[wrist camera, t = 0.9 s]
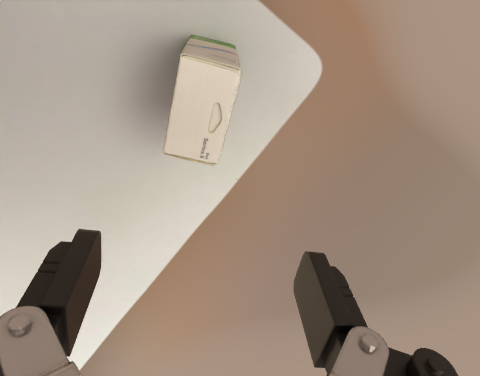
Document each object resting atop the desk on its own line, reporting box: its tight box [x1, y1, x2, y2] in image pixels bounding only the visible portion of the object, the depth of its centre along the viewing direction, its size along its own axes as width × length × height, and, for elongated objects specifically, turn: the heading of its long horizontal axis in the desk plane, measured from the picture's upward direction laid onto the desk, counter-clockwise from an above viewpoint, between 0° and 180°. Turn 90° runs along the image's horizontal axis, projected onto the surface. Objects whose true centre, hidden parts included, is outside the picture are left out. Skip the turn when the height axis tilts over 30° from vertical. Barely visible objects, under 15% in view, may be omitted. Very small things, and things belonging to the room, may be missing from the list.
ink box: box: [163, 35, 241, 166], centre depth 33 cm, size 9×5×12 cm, turn 166°
